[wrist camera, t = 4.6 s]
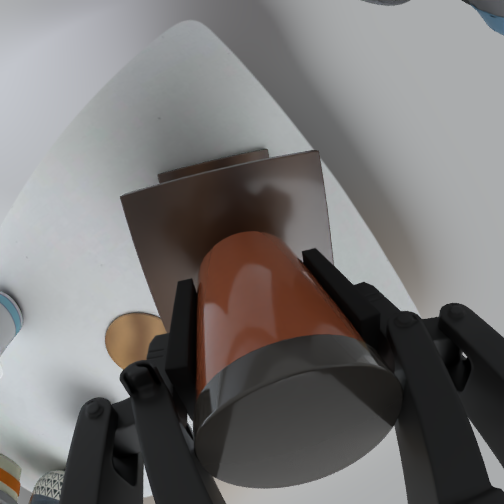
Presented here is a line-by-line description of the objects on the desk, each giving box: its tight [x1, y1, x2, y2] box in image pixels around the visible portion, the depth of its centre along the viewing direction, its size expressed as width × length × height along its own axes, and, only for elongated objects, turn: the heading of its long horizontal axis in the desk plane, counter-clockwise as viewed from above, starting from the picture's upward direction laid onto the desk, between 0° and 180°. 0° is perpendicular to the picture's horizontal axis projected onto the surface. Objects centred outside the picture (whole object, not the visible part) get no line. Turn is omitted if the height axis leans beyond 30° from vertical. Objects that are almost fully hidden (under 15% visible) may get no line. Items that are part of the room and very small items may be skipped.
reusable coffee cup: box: [0, 454, 21, 504], centre depth 39 cm, size 13×12×15 cm
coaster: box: [105, 313, 167, 369], centre depth 37 cm, size 11×11×1 cm
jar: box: [193, 231, 404, 488], centre depth 11 cm, size 6×6×10 cm
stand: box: [120, 149, 334, 333], centre depth 26 cm, size 12×12×16 cm
